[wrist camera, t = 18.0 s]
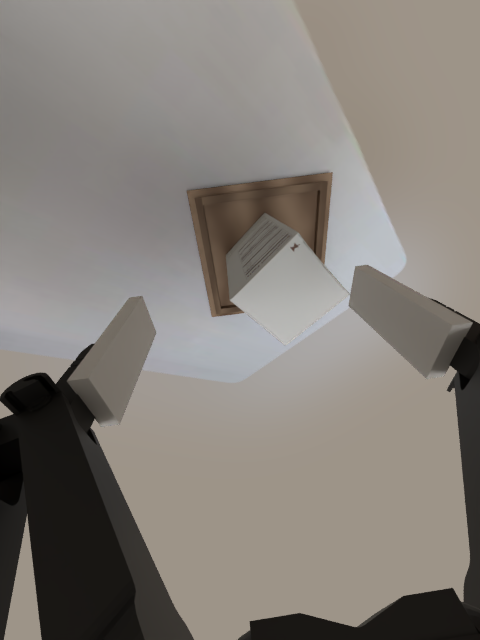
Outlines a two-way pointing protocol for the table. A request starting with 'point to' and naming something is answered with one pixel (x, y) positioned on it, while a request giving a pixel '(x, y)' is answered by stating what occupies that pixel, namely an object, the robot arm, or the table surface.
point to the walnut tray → (242, 213)
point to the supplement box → (280, 280)
